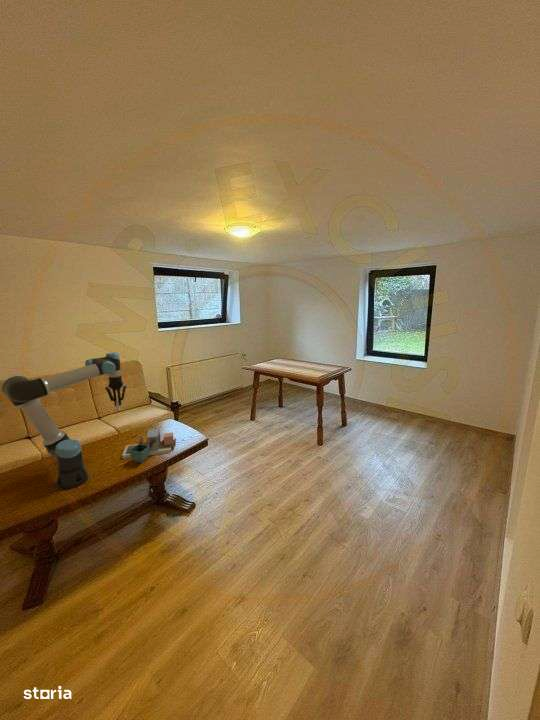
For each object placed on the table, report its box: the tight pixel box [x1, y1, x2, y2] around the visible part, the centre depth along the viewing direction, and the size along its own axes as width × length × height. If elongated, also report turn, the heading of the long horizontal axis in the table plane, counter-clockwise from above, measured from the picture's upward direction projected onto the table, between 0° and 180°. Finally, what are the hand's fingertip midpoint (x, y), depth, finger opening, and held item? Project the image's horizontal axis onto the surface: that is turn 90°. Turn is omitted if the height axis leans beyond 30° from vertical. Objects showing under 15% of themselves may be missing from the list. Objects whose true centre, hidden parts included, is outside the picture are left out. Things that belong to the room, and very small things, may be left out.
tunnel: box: [146, 428, 161, 451], centre depth 201 cm, size 7×12×10 cm, turn 16°
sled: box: [138, 436, 177, 448], centre depth 202 cm, size 23×8×6 cm, turn 106°
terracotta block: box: [163, 432, 175, 445], centre depth 203 cm, size 6×6×6 cm
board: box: [121, 443, 172, 460], centre depth 201 cm, size 30×14×3 cm, turn 106°
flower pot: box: [130, 443, 150, 464], centre depth 187 cm, size 9×9×9 cm
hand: (118, 410), depth 196 cm, fingers closed
